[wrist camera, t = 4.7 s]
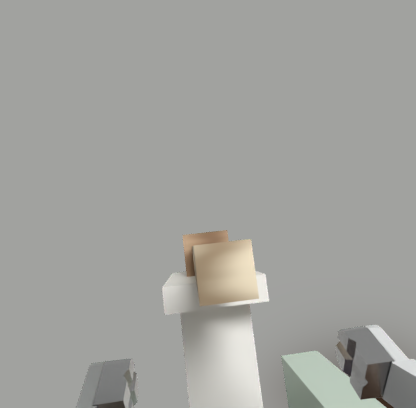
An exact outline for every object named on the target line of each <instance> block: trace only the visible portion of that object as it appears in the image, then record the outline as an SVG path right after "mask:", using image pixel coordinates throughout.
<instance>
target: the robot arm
mask: <svg viewBox="0 0 416 408" xmlns="http://www.w3.org/2000/svg"><path fill="white" fill-rule="evenodd" d="M338 339H339V340H340V342H339V343H338V344H337V345H336V356H337V360H338V363H339V365H340V367H341V368H342V370H343V372H345V373H346V374H348V375H349V376H350V384H351V385H352V387H353V388H354V390H355V392H356V393H357V395H358V397H359V398H360V400H362V399H371V398H379V397H383V399H384V400H385V401H387V402H388V403H389V404H390V405H392V406H393V407H394V408H416V360H414V359H408V358H407V357H406V355H405V354H404V353H403V352H402V351H401V350H400V349H399V348H398V347H397V345H396V344H395V343H394V342H393V341H392V340H391V339H390V337H389V336H388V335H387V334H386V333H385V332H384V331H383V329H382V328H381V327H380V326H378V325H370V326H364V327H363V326H361V327H354V328H348V329H341V330H339V332H338ZM134 366H135V364H134V361H133V359H124V360H115V361H105V362H98V363H92V364H91V365H90V367H89V369H88V372H87V375H86V378H85V381H84V384H83V387H82V390H81V393H80V397H79V399H78V403H77V406H76V408H134V405H135V404H136V403H137V398H138V378H137V374H136V373H135V372H134Z"/></svg>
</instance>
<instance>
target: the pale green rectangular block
mask: <svg viewBox="0 0 416 408" xmlns="http://www.w3.org/2000/svg"><path fill="white" fill-rule="evenodd" d="M281 357H282V364H283V371H284V378H285V385H286V392H287V398H288V406H289V408H386V407H385V406H384V405H382V404H381V403H380V402H379V401H377V400H376V399H375V398H371V399H362V400H360V398H359V397H358V395H357V393H356V392H355V390H354V388H353V387H352V385H351V384H350V378H349V377H348V376H347V375H346V374H344V373H343V372H342V371H341V370H340V369H338V368H337V367H336V366H335V365H334V364H332V363H331V362H330V361H329V360H327V359H326V358H325V357H324V356H323V355H321V354H320V353H319V352H318V351H312V352H304V353H298V354H291V355H285V356H281Z"/></svg>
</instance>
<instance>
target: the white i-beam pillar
mask: <svg viewBox="0 0 416 408" xmlns="http://www.w3.org/2000/svg"><path fill="white" fill-rule="evenodd" d="M255 272H256V279H257V287H258V294H259V299H252V300H244V301H237V302H229V303H222V304H214V305H207V306H200V304H199V297H198V291H197V284H196V278H195V276H191V277H187V273H186V272H177V273H172V274H171V276H170V277H169V279H168V280H167V282H166V283H165V284H164V286H163V287H162V291H163V303H164V314H165V315H168V314H176V313H180V314H181V325H182V335H183V345H184V356H185V366H186V377H187V387H188V398H189V407H190V408H263V403H262V395H261V388H260V380H259V373H258V365H257V358H256V350H255V342H254V335H253V327H252V320H251V312H250V303H258V302H265V301H269V297H268V290H267V282H266V276H265V274H263V273H260V272H257V271H255Z"/></svg>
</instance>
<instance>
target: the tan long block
mask: <svg viewBox="0 0 416 408" xmlns="http://www.w3.org/2000/svg"><path fill="white" fill-rule="evenodd" d="M183 243H184V253H185V262H186V273H187V277H191V276H195V278H196V284H197V291H198V297H199V304H200V306H207V305H214V304H222V303H229V302H237V301H244V300H252V299H259V294H258V287H257V279H256V272H255V265H254V259H253V250H252V243H251V239H246V240H238V241H228V234H227V230H225V231H216V232H206V233H198V234H189V235H183Z"/></svg>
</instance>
